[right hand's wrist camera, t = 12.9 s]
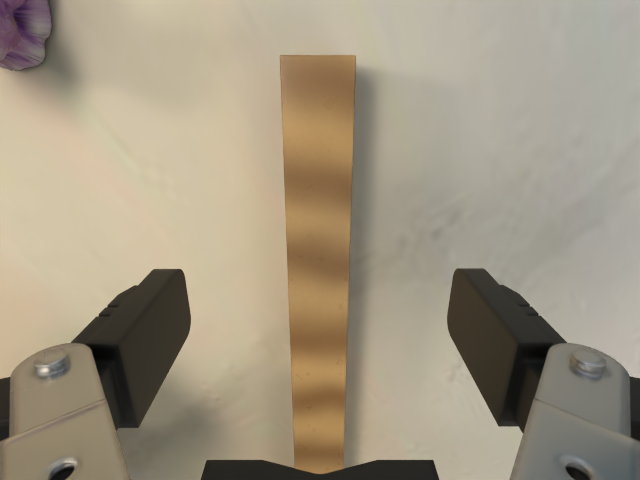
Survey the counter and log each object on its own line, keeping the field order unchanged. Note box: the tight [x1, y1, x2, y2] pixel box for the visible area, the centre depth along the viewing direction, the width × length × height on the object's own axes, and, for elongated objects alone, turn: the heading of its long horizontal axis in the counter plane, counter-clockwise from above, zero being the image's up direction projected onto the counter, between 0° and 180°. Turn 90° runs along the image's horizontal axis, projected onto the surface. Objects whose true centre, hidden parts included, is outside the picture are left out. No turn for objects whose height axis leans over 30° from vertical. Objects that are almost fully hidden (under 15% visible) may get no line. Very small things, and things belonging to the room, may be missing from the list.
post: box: [280, 55, 356, 474], centre depth 40 cm, size 69×5×8 cm, turn 0°
